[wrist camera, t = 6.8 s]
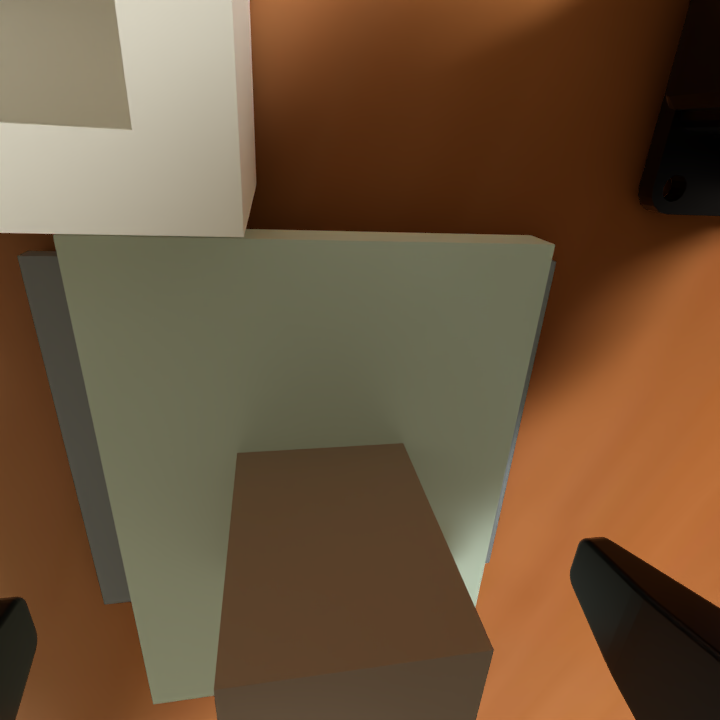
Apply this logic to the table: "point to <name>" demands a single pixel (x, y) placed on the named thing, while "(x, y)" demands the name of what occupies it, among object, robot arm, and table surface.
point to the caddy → (126, 117)
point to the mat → (78, 423)
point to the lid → (307, 456)
